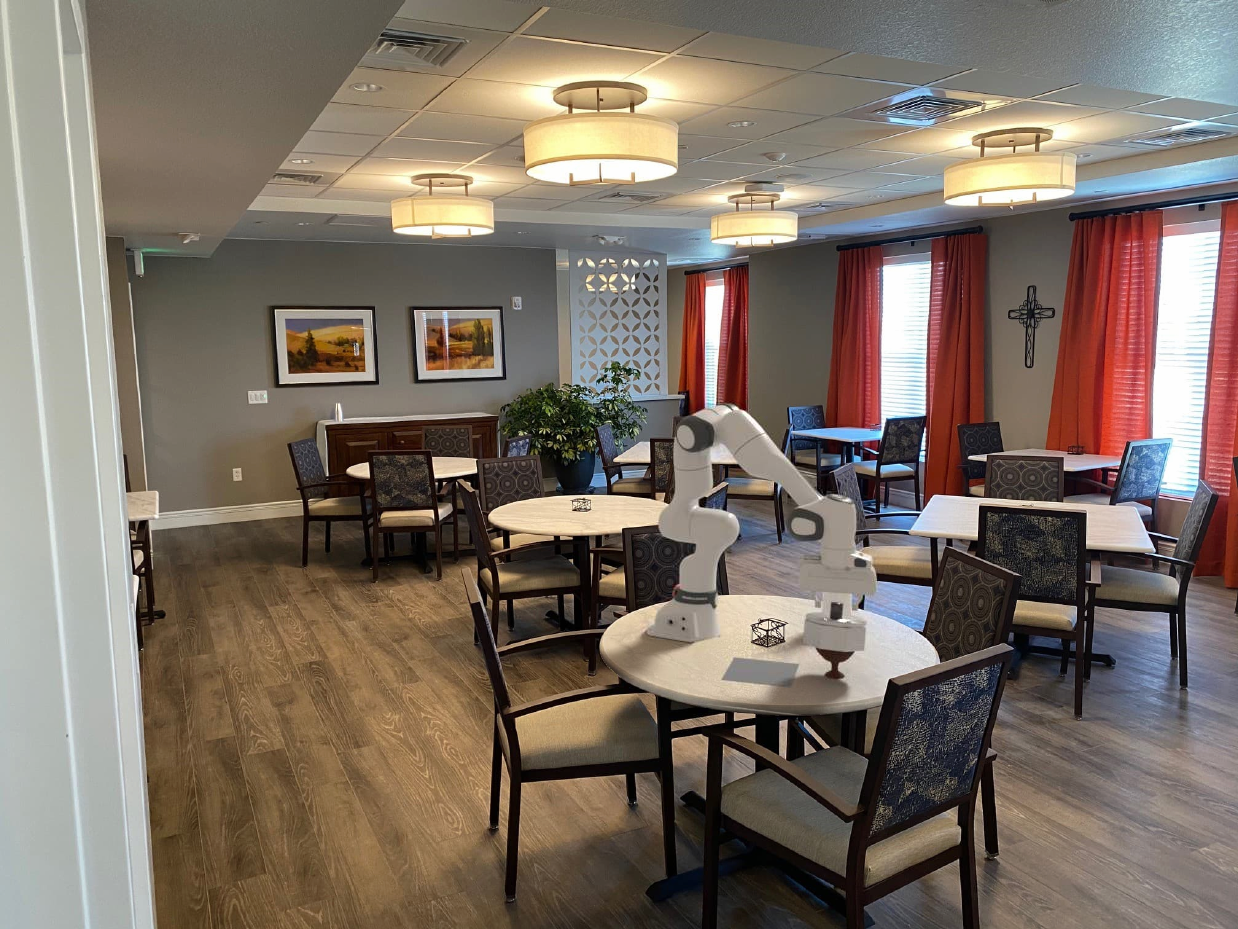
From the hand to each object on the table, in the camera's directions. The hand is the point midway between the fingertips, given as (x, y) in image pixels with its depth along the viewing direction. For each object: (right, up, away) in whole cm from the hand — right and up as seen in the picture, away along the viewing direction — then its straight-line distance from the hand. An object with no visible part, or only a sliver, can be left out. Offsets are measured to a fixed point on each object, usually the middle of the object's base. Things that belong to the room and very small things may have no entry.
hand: (836, 608), depth 238 cm
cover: (-1, -10, +1) cm, 10 cm away
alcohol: (+10, -13, +44) cm, 47 cm away
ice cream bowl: (0, -19, +2) cm, 19 cm away
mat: (-19, -18, +5) cm, 27 cm away
